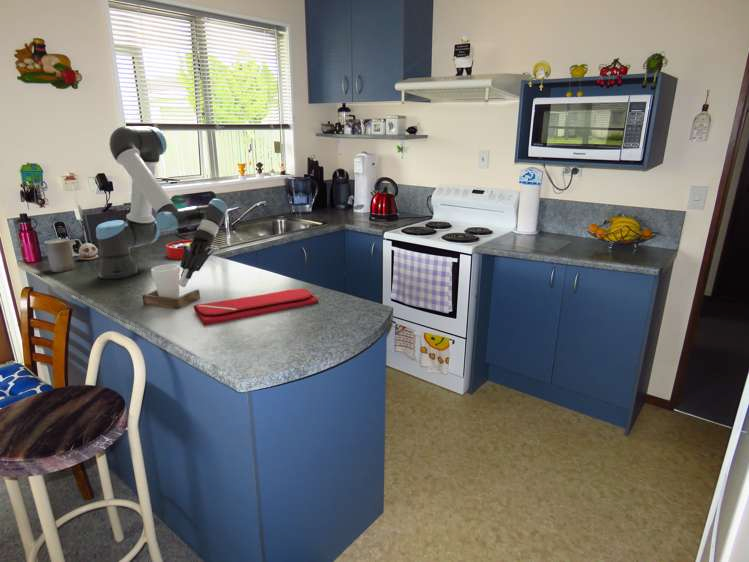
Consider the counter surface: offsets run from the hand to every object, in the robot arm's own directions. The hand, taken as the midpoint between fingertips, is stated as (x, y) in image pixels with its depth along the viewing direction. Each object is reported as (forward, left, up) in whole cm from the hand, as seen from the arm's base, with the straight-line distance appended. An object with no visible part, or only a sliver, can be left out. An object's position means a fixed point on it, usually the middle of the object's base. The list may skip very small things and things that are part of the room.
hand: (181, 285), depth 182 cm
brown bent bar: (0, -5, -5) cm, 7 cm away
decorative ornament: (-87, +32, -5) cm, 93 cm away
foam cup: (-1, -6, -5) cm, 8 cm away
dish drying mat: (+34, 0, -5) cm, 34 cm away
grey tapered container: (-81, +13, -5) cm, 82 cm away
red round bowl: (-46, +55, -5) cm, 72 cm away
